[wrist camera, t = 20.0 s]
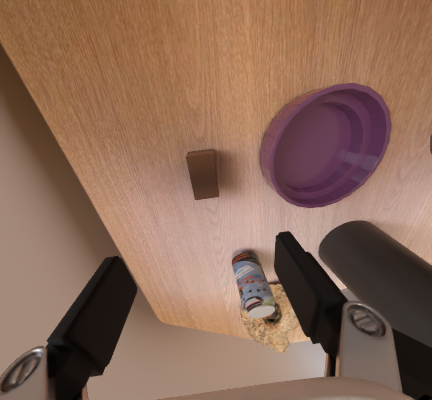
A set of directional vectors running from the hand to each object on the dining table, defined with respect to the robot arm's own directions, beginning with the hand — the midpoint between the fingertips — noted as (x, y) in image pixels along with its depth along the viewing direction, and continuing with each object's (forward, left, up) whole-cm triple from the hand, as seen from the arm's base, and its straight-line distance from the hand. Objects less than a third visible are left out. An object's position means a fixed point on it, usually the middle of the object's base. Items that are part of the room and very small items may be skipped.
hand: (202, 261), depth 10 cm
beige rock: (+37, -19, -20) cm, 46 cm away
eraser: (0, 0, -20) cm, 20 cm away
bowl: (+12, +14, -20) cm, 27 cm away
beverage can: (+21, -11, -20) cm, 31 cm away
